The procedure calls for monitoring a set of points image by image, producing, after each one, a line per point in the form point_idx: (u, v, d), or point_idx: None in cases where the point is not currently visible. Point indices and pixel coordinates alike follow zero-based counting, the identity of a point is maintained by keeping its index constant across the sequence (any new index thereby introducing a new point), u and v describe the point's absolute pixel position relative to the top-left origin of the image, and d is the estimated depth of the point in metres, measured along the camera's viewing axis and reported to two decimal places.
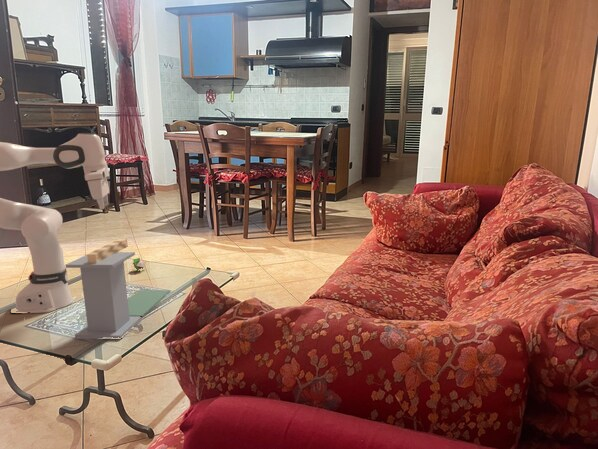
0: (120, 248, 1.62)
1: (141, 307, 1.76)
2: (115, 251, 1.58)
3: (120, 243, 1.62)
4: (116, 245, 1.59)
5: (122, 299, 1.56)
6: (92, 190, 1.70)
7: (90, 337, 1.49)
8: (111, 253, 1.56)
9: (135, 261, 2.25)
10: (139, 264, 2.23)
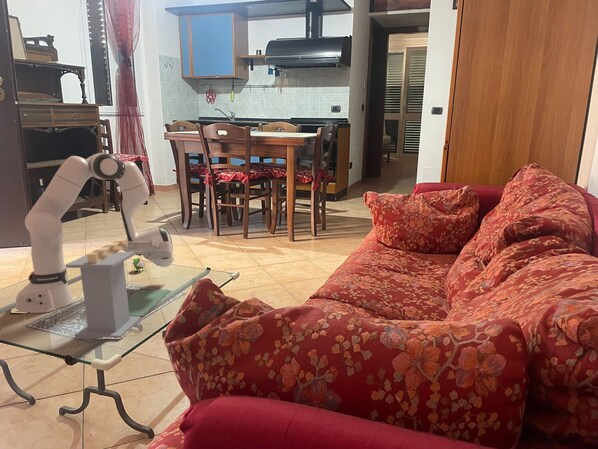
0: (120, 248, 1.62)
1: (141, 307, 1.76)
2: (115, 251, 1.58)
3: (120, 243, 1.62)
4: (116, 245, 1.59)
5: (122, 299, 1.56)
6: (170, 245, 1.88)
7: (90, 337, 1.49)
8: (111, 253, 1.56)
9: (135, 261, 2.25)
10: (139, 264, 2.23)
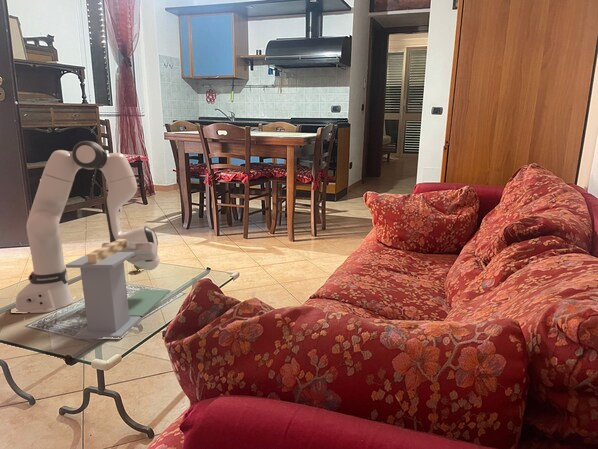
0: (120, 248, 1.62)
1: (141, 307, 1.76)
2: (115, 251, 1.58)
3: (120, 243, 1.62)
4: (116, 245, 1.59)
5: (122, 299, 1.56)
6: (154, 246, 1.72)
7: (90, 337, 1.49)
8: (111, 253, 1.56)
9: None
10: None
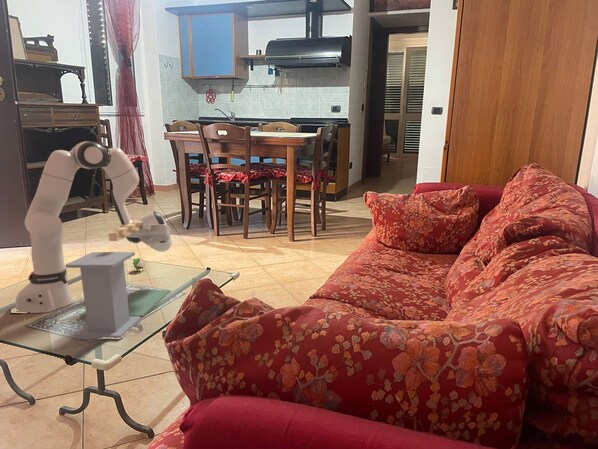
0: (137, 229, 1.76)
1: (141, 307, 1.76)
2: (133, 231, 1.72)
3: (137, 224, 1.76)
4: (134, 226, 1.73)
5: (122, 299, 1.56)
6: (168, 228, 1.85)
7: (90, 337, 1.49)
8: (129, 233, 1.69)
9: (135, 261, 2.25)
10: (139, 264, 2.23)
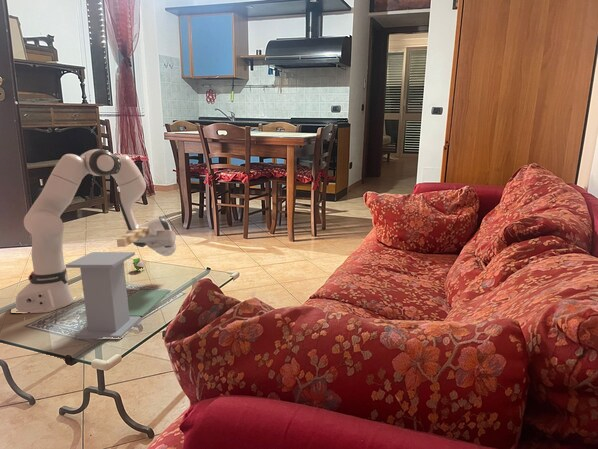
0: (143, 234, 1.81)
1: (141, 307, 1.76)
2: (139, 237, 1.78)
3: (143, 230, 1.81)
4: (140, 232, 1.78)
5: (122, 299, 1.56)
6: (173, 233, 1.91)
7: (90, 337, 1.49)
8: (136, 238, 1.75)
9: (135, 261, 2.25)
10: (139, 264, 2.23)
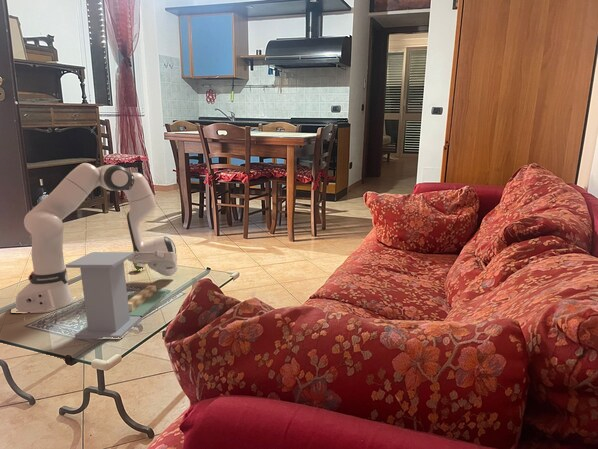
0: (150, 294, 1.87)
1: (141, 307, 1.76)
2: (146, 298, 1.84)
3: (150, 290, 1.87)
4: (147, 292, 1.84)
5: (122, 299, 1.56)
6: (175, 255, 1.93)
7: (90, 337, 1.49)
8: (143, 300, 1.81)
9: None
10: (139, 264, 2.23)
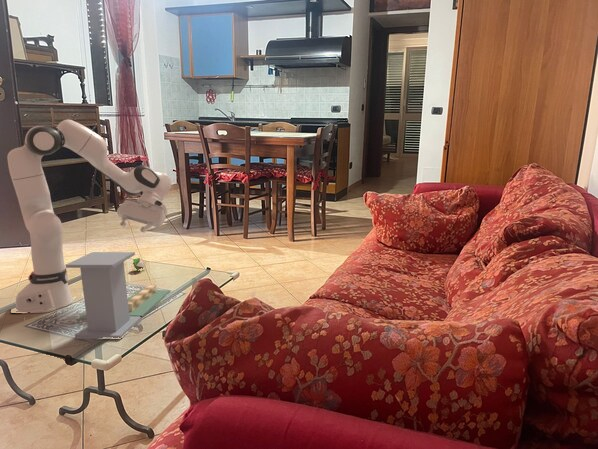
0: (150, 294, 1.87)
1: (141, 307, 1.76)
2: (146, 298, 1.84)
3: (150, 290, 1.87)
4: (147, 292, 1.84)
5: (122, 299, 1.56)
6: (162, 218, 1.87)
7: (90, 337, 1.49)
8: (143, 300, 1.81)
9: (135, 261, 2.25)
10: (139, 264, 2.23)
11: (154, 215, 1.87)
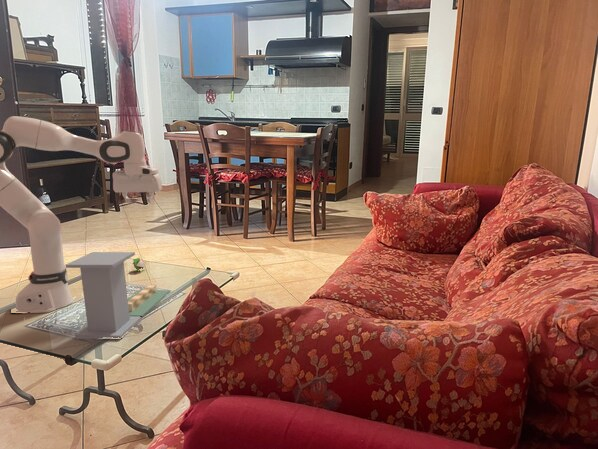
0: (150, 294, 1.87)
1: (141, 307, 1.76)
2: (146, 298, 1.84)
3: (150, 290, 1.87)
4: (147, 292, 1.84)
5: (122, 299, 1.56)
6: (158, 183, 1.86)
7: (90, 337, 1.49)
8: (143, 300, 1.81)
9: (135, 261, 2.25)
10: (139, 264, 2.23)
11: (150, 184, 1.86)
